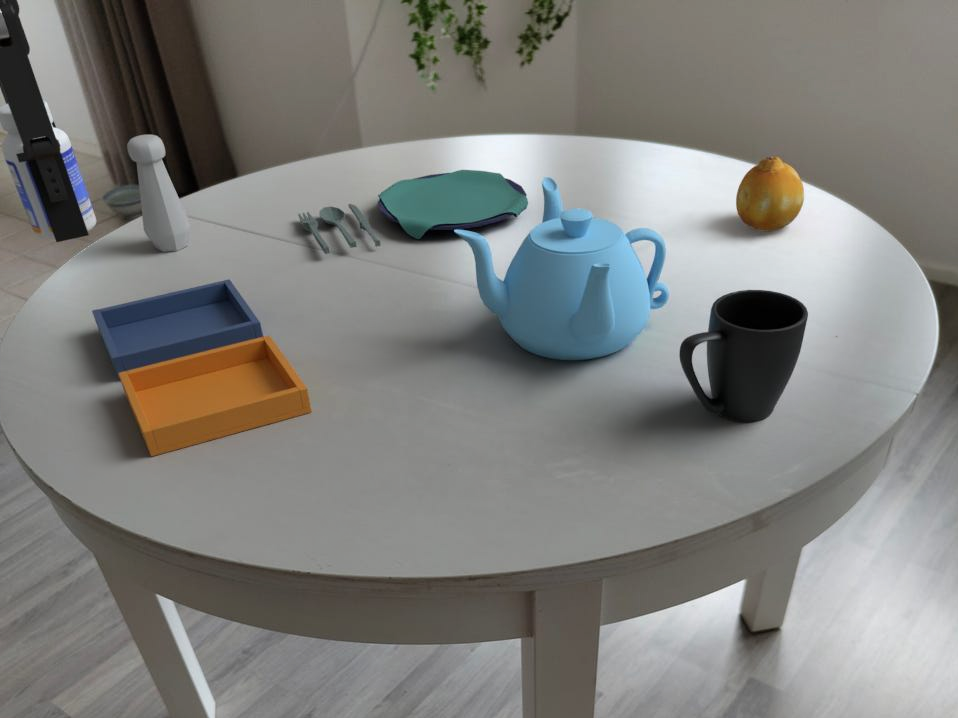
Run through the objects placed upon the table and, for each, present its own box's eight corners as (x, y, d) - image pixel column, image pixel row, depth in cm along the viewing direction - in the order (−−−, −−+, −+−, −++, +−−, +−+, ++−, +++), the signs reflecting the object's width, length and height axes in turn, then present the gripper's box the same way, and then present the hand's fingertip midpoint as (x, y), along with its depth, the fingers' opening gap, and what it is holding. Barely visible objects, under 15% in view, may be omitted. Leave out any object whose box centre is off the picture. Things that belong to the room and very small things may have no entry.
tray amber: (151, 456, 86) (142, 432, 84) (125, 396, 95) (117, 372, 93) (311, 412, 91) (307, 388, 89) (274, 357, 99) (269, 334, 97)
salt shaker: (142, 254, 121) (110, 144, 112) (160, 236, 125) (130, 129, 116) (184, 255, 120) (155, 145, 111) (201, 237, 124) (174, 129, 115)
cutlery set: (549, 225, 122) (549, 207, 120) (324, 267, 115) (321, 248, 114) (496, 177, 135) (495, 160, 133) (292, 212, 129) (289, 195, 127)
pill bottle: (109, 218, 83) (70, 96, 77) (77, 242, 80) (33, 116, 73) (55, 216, 84) (12, 95, 78) (21, 240, 81) (-27, 115, 74)
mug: (647, 409, 88) (656, 312, 82) (750, 376, 92) (767, 281, 85) (699, 451, 83) (713, 351, 76) (806, 414, 86) (829, 316, 80)
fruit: (711, 203, 118) (749, 150, 111) (751, 191, 122) (790, 140, 115) (750, 253, 117) (790, 203, 110) (788, 240, 121) (830, 191, 114)
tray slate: (119, 381, 97) (111, 358, 95) (99, 332, 105) (91, 310, 103) (265, 344, 101) (260, 321, 99) (234, 300, 110) (229, 278, 108)
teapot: (455, 348, 99) (447, 229, 90) (545, 281, 110) (546, 169, 101) (600, 388, 92) (606, 263, 83) (681, 312, 102) (694, 195, 94)
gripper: (16, -108, 61) (129, 252, 77) (-9, -128, 73) (93, 186, 89) (-108, -94, 59) (35, 273, 75) (-113, -117, 71) (11, 202, 87)
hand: (66, 225), depth 82 cm, fingers closed on pill bottle, 5 cm apart
